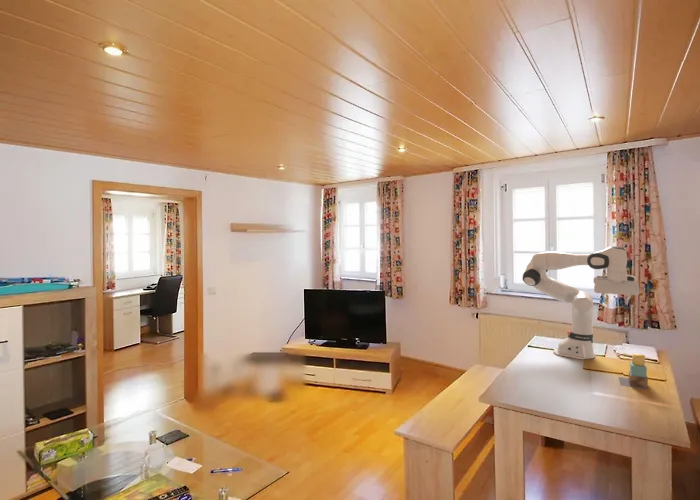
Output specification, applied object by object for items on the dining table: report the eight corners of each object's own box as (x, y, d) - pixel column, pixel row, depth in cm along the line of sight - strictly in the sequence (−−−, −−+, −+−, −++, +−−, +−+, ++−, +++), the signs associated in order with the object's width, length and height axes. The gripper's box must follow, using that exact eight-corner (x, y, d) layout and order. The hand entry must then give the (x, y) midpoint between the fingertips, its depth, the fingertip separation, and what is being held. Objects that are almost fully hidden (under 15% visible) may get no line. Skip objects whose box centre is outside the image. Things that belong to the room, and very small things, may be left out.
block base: (630, 385, 197) (630, 375, 197) (628, 380, 203) (628, 371, 203) (647, 388, 193) (647, 378, 193) (645, 383, 199) (645, 373, 199)
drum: (632, 365, 197) (632, 355, 196) (631, 362, 201) (632, 352, 201) (645, 367, 194) (645, 357, 194) (644, 364, 198) (644, 354, 198)
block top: (631, 375, 197) (631, 365, 196) (630, 371, 202) (630, 362, 202) (646, 377, 194) (646, 367, 193) (644, 373, 199) (644, 363, 199)
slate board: (620, 387, 197) (620, 385, 197) (618, 378, 208) (618, 376, 208) (648, 391, 192) (648, 389, 192) (644, 382, 203) (644, 380, 203)
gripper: (593, 276, 214) (593, 301, 215) (640, 278, 204) (639, 304, 205) (593, 275, 220) (592, 299, 220) (638, 277, 210) (638, 302, 210)
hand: (615, 302), depth 213 cm, fingers open, 8 cm apart
